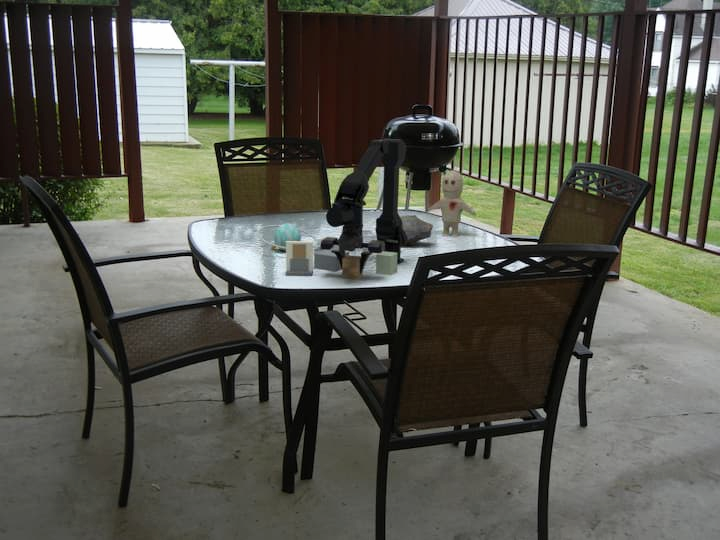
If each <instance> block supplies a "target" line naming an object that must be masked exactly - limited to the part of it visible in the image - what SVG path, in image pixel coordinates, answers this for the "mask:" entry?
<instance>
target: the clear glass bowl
mask: <svg viewBox="0 0 720 540" xmlns="http://www.w3.org/2000/svg"><path fill="white" fill-rule="evenodd" d="M267 228H268V229H269V228H276V229H275V230H274V233H273V241H274V243H272V242H269V241H267V240H265V239H264V238H262V237H261V236H260V234H259V233H260V231H261V230H263V229H267ZM301 232H302V233H304V234H306V235H309V236H310V237H312V238H313V239H314V240H315V243H314V244H313V249H314V248H316V247H317V246H318V243H319V241H318V239H317V237H316V236H314V234H312V233H310V232H308V231H306V230H304V229H302V228H299V227H297V226H296V225H294V224H293V223H288V222H287V223H286V222H284V223H283V224H271V225H269V224H268V225H265V226H262V227H260V228H258V229H257V231H256V236H257V237H258V239H259V240H261V241H262V242H263V243H265V244H267V245H269V246H270V249H271V250H275V249H276V248H278V249H279V250H281V251H283V252H286V241H302V234H301Z"/></svg>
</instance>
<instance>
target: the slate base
mask: <svg viewBox="0 0 720 540" xmlns="http://www.w3.org/2000/svg"><path fill="white" fill-rule="evenodd" d="M331 250H332V249H330V250H324V249H322V250H320V251H318V252H315V253H313V258H314V259H313V267H314V268H313V269H317V270H324V271H330V272H338V271H340V270H341V271H342V268H341V265H340V263H339V260H338V258H337V256H336V255H335V254H334V253H332V252H331ZM347 255H350V252H349V251H345V256H347Z"/></svg>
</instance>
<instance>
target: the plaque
mask: <svg viewBox="0 0 720 540" xmlns="http://www.w3.org/2000/svg"><path fill="white" fill-rule="evenodd" d="M313 246H314V244H313V241H309V240H308V241H306V240H305V241H304V240H303V241H302V240H301V241H286V251H285V259H286V260H285V267H286V268H285V269H286V271H285V276H286V277H287V276H288V277H291V276H292V277H312V276H313V273H314V268H313V267H314V259H313V258H314V253H313V252H314V250H313V249H314V248H313Z"/></svg>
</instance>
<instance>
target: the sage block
mask: <svg viewBox="0 0 720 540" xmlns="http://www.w3.org/2000/svg"><path fill="white" fill-rule="evenodd" d="M375 254H376V255H375V257H376V258H375V274H381V275H387V276H392V275H393V274H395V273H397V272H398V264H397V253H394V252H385V251H383V252H382V253H375Z"/></svg>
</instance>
